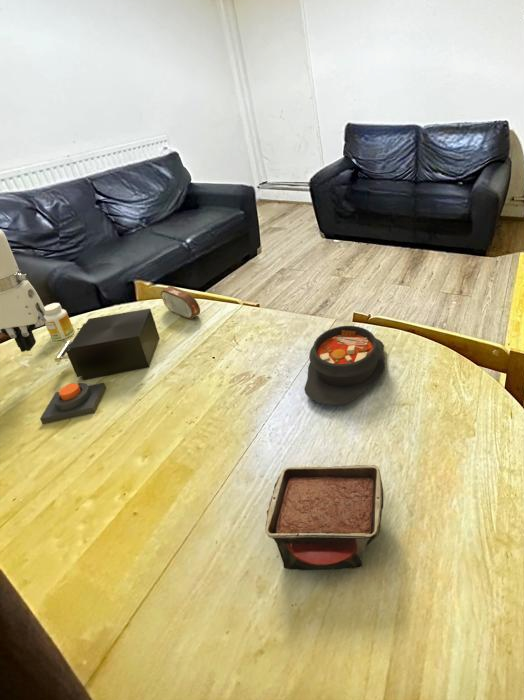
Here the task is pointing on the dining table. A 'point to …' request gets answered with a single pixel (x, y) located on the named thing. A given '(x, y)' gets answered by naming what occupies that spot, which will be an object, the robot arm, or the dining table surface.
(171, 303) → the tin
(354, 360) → the casserole
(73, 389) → the button
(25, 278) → the robot arm
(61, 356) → the drawer
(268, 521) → the baking dish
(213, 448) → the dining table surface
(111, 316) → the black rectangular box
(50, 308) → the supplement bottle
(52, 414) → the panel
